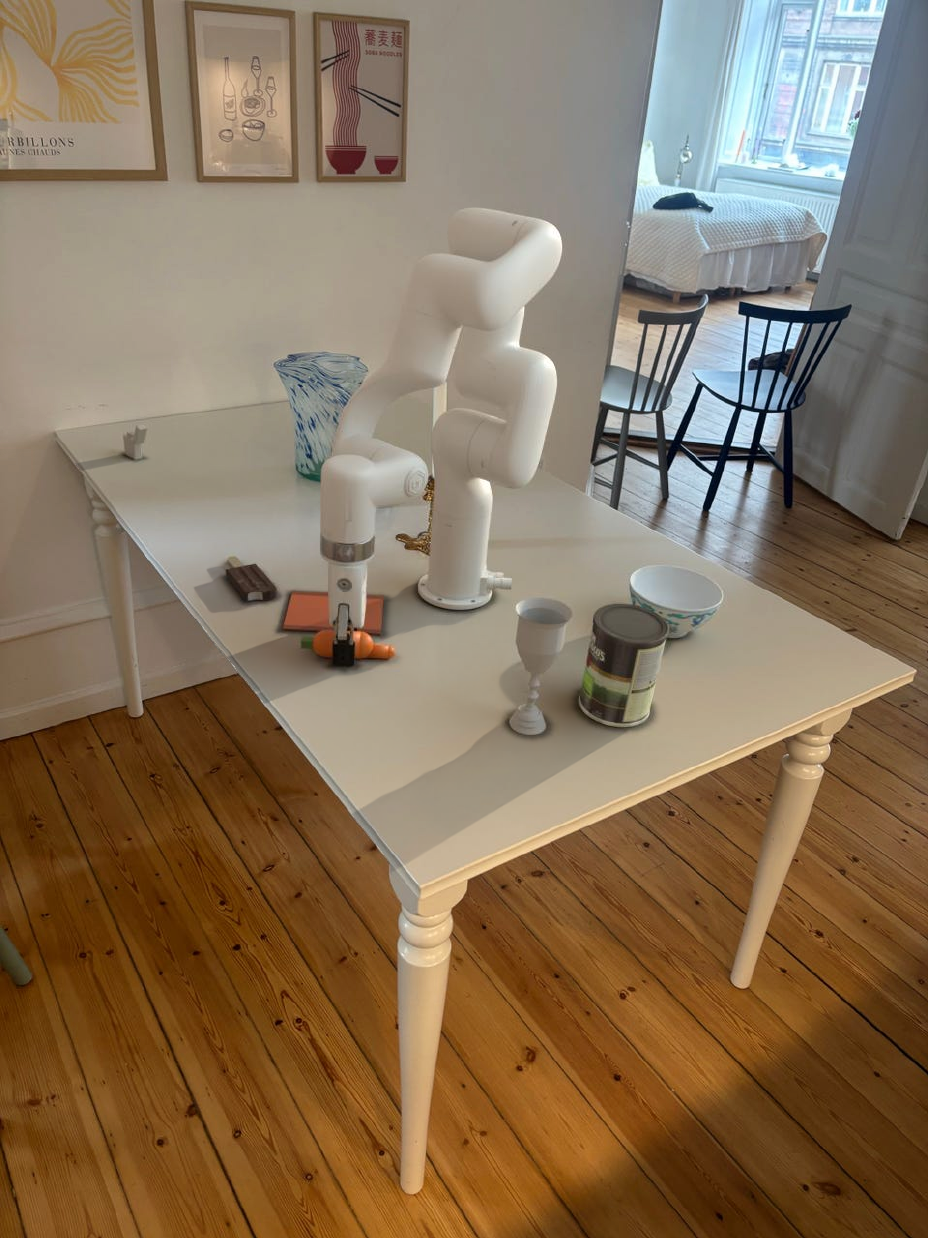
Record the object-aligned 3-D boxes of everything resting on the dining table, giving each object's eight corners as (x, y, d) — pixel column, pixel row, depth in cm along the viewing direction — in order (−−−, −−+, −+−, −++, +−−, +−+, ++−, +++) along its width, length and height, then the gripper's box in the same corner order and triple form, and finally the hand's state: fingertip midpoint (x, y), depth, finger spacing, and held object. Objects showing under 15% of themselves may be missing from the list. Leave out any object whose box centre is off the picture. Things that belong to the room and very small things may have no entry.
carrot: (394, 650, 141) (396, 628, 139) (394, 665, 137) (395, 642, 135) (303, 646, 140) (302, 623, 138) (300, 661, 136) (299, 638, 134)
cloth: (383, 597, 154) (383, 595, 154) (380, 635, 144) (380, 633, 144) (292, 592, 153) (292, 590, 153) (282, 630, 143) (282, 628, 143)
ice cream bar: (216, 564, 159) (248, 604, 149) (215, 555, 158) (247, 595, 148) (245, 559, 162) (279, 598, 151) (245, 550, 161) (279, 589, 150)
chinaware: (603, 620, 154) (610, 579, 150) (660, 596, 163) (669, 557, 159) (673, 662, 145) (683, 619, 141) (731, 635, 153) (742, 594, 149)
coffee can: (585, 727, 128) (601, 641, 121) (572, 684, 137) (587, 601, 130) (658, 729, 129) (678, 643, 122) (640, 686, 138) (658, 604, 131)
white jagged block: (124, 453, 198) (120, 417, 194) (131, 452, 199) (128, 416, 195) (142, 463, 194) (139, 427, 190) (150, 462, 195) (146, 425, 191)
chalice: (551, 710, 131) (569, 599, 122) (556, 740, 125) (576, 626, 116) (499, 707, 130) (513, 596, 121) (502, 737, 125) (517, 622, 115)
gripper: (371, 574, 122) (367, 688, 131) (377, 520, 137) (372, 626, 146) (314, 571, 122) (313, 685, 131) (325, 517, 136) (324, 623, 146)
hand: (344, 653), depth 138 cm, fingers open, 4 cm apart
